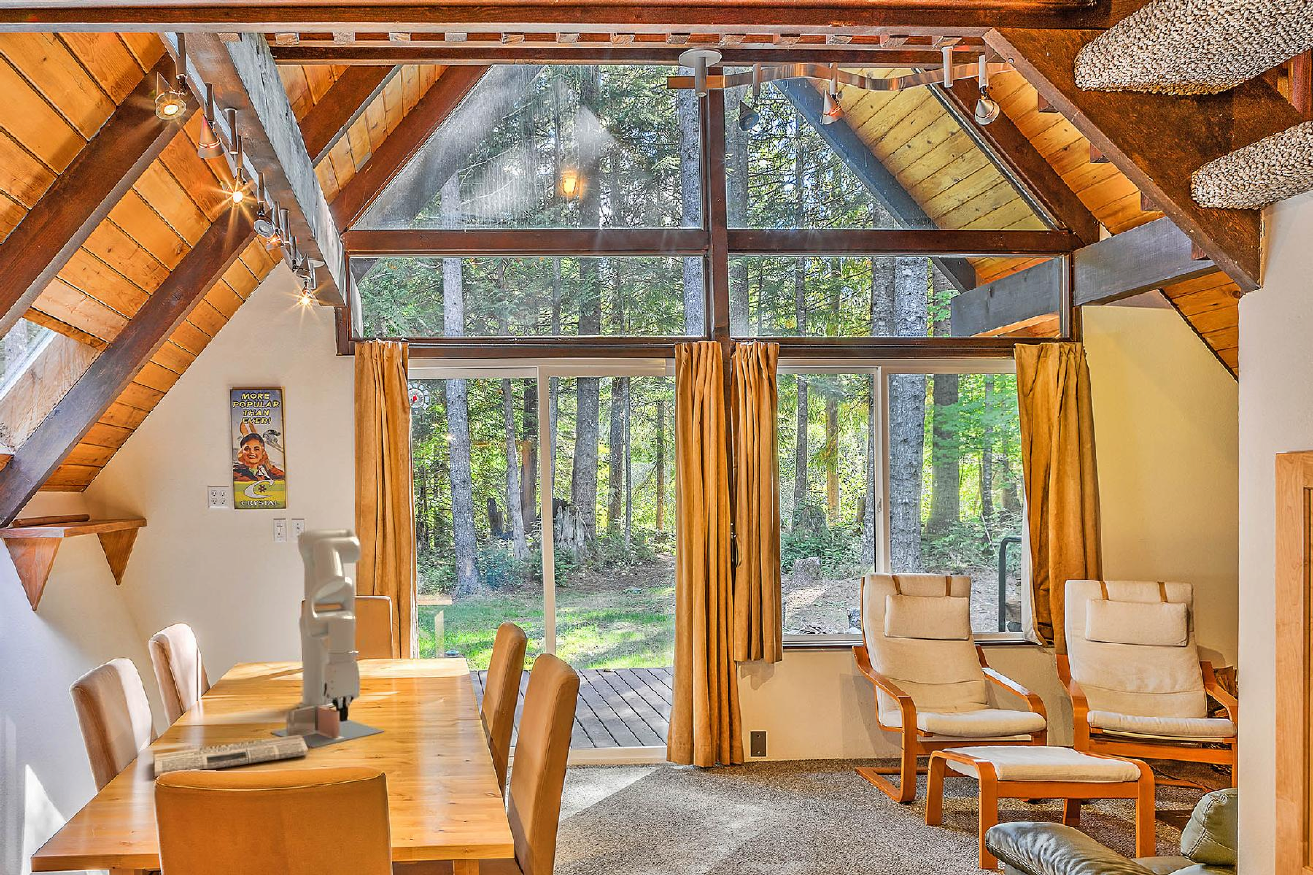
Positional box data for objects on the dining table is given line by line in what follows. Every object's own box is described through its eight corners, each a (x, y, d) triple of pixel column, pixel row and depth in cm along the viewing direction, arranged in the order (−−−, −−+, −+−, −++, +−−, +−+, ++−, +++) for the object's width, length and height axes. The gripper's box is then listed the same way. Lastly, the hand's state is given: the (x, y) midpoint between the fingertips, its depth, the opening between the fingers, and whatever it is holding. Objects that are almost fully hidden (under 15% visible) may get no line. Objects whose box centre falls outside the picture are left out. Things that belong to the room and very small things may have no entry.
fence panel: (313, 730, 296) (313, 706, 297) (320, 728, 298) (319, 704, 298) (334, 737, 287) (334, 713, 287) (340, 736, 288) (340, 711, 289)
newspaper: (154, 779, 253) (154, 768, 253) (154, 760, 270) (154, 750, 270) (307, 757, 269) (307, 746, 269) (298, 740, 286) (298, 730, 287)
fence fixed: (286, 737, 290) (285, 711, 290) (312, 732, 296) (311, 706, 296) (289, 738, 289) (289, 712, 289) (315, 733, 294) (315, 707, 295)
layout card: (267, 733, 296) (267, 732, 296) (340, 718, 313) (340, 717, 313) (309, 749, 278) (309, 747, 278) (384, 732, 295) (384, 730, 295)
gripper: (358, 652, 302) (358, 714, 301) (311, 660, 291) (312, 723, 290) (371, 655, 297) (371, 717, 296) (323, 663, 286) (324, 727, 285)
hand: (342, 720), depth 293 cm, fingers closed
